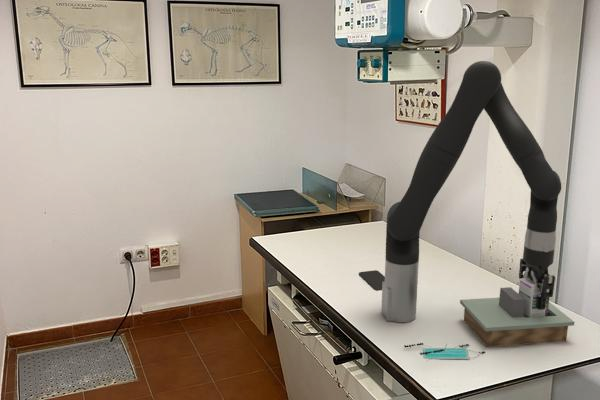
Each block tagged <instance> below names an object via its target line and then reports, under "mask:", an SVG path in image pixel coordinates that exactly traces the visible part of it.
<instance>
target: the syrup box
mask: <svg viewBox="0 0 600 400" xmlns="http://www.w3.org/2000/svg"><path fill="white" fill-rule="evenodd" d="M518 283H519V284H518V294H519V295H521V296H522V297H523V298H524V299H525V306H524V317H525V318H529V317H544V316H548V308H549V302H550V298H551V297H547V299H546V307H545V309H543V310H538V309H537V308H536V304H537V296H538V293H537V289H536V288H535V285H534V281H532V280H531V279H529V278H521V279H519V282H518ZM538 284H540V285H541V284H543V283H538ZM541 292H542V288H541ZM548 292H549V289H548Z"/></svg>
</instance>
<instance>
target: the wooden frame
mask: <svg viewBox="0 0 600 400" xmlns="http://www.w3.org/2000/svg"><path fill="white" fill-rule="evenodd" d="M463 311H464V312H463V322H464V324H465V325H467V327H469V329H470V330H471V331H472V332H473V333H474V334H475V336H476V337H477V338H478V339H479V341H481V343H482V344H483V345H484V346H485V348H489V347H504V346H518V345H532V344H545V343H547V344H548V343H560V342H561V343H562V342H567V338H568V337H567V336H568V329H569V326H559V327H544V328H529V329H514V330H499V331H485V330H484V329H483V328H482V326H481V325H480V324H479V323H478V322H477V321H476V320H475V319H474V318H473V317H472V316H471V314H470V313H469V312H468V311H467V310H466V309H465V308H464V310H463ZM548 316H552V315H551V314H550V313H549V312H548Z"/></svg>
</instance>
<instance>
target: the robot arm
mask: <svg viewBox="0 0 600 400" xmlns="http://www.w3.org/2000/svg"><path fill="white" fill-rule="evenodd" d="M483 111H485V113H486V114H487V116H488V117H489V118H490V120H491V122H492V124H493V125H494V127H495V130H497V133H498V135H499V136H500V139H501V141H502V142H503V145H504V146H505V148H506V149H507V151H508V153H509V154H510V156H511V158H512V159H513V161H514V162H515V164H516V165H517V167H518V168H519V169H520V171H521V173H522V175H523V178H524V180H525V181H526V184H527V186H528V187H529V189H530V199H529V200H530V201H529V202H530V203H529V209H528V210H529V211H528V213H527V223H526V231H525V234H524V242H523V243H524V245H523V254H522V258H520V259H519V260H520V261H519V270H518V271H519V272H518V279H519V280H520V279H521V278H529V279H531V280H532V281H534V285H535V288H536V289H537V293H538V296H537V304H536V308H537V309H538V310H543V309H545V307H546V299H547V297H550V298H553V295H554V288H555V284H556V283H555V282H556V276H555V275H554V274H553V275H550V274H549V267H550V266H552V265H553V263H554V259H555V258H554V257H555V249H556V241H557V240H556V239H557V238H556V237H557V236H556V234H557V233H556V230H557V223H558V222H557V221H558V209H557V207H558V198H559V195H560V193H561V191H562V181H561V178H560V176H559V174H558V173H557V172H556V171H555V170H553V168H552V166H551V165H550V164H549V163H548V160H547V159H546V157H545V154H544V151H543V149H542V148H541V146H540V144H539V142H538V141H537V139H536V138H535V136H534V134H533V133H532V132H531V130H530V128H529V127H528V126H527V124H526V123H525V121H524V120H523V119H522V118H521V116H520V115H519V113H518V112H517V111H516V109H515V107H514V106H513V105H512V103H511V101H510V99H509V98H508V96H507V93H506V91H505V88H504V86H503V84H502V73H501V71H500V69H499V67H498V66H497V65H496V64H494V63H493V62H491V61H486V60H480V61H476V62H473V63H472V64H471V65H469V66H468V67H467V68H466V70H465V71H464V73H463V76H462V80H461V82H460V85H459V88H458V90H457V92H456V95H455V97H454V99H453V102H452V104H451V105H450V107H449V109H448V111H447V112H446V113H445V114H444V116H443V117H442V119H441V120H440V121H439V122H438V124H437V125H436V127H435V129H434V130H433V132H432V133H431V135H430V136H429V138H428V140H427V142H426V144H425V146H424V148H423V149H422V152H421V153H420V156H419V158H418V161H417V163H416V165H415V168H414V170H413V174H412V178H411V180H410V183H409V186H408V188H407V190H406V192H405V193H404V195H403V196H402V198H401V200H400V201H397V202H395V203H394V204H392V205H391V206H390V208H389V209H388V210H387V214H386V229H385V230H386V233H385V266H384V276H385V281H383V282H382V290H381V307H380V308H381V309H380V311H381V313H382V315H383V317H384V318H385V319H384V320H386V322H387V321H388V322H395V323H408V322H409V323H410V322H412V321H414V320H415V319H416V316H417V302H418V301H417V298H418V284H419V283H418V281H419V280H418V279H419V267H420V266H419V262H420V231H421V229H422V226H423V224H424V222H425V219H426V216H427V214H428V212H429V210H430V208H431V205H432V203H433V202H434V200H435V198H436V196H437V195H438V194H439V192H440V191H441V189H442V188H443V186H444V184H445V183H446V181H447V180H448V177H449V176H450V175H451V173H452V171H453V170H454V167H456V164H457V163H458V161H459V159H460V157H461V155H462V154H463V152H464V149H465V147H466V145H467V143H468V141H469V139H470V136H471V134H472V131H473V129H474V127H475V124H476V122H477V120H478V119H479V117H480V115H481V113H482V112H483ZM538 283H543V284H541V285H540V284H538ZM541 288H542V292H541ZM548 289H549V292H548Z"/></svg>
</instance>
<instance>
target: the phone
mask: <svg viewBox="0 0 600 400" xmlns="http://www.w3.org/2000/svg"><path fill="white" fill-rule="evenodd" d="M358 276H359V277H360V278H361V279H362V280H363V281H365V282H366V283H367V285H369V287H371V288H372V289H373V290H374V291H382V282H383V281H385V275H384V274H383V273H381V272H380V271H379V270H376V269H375V270H366V271H359V272H358Z"/></svg>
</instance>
